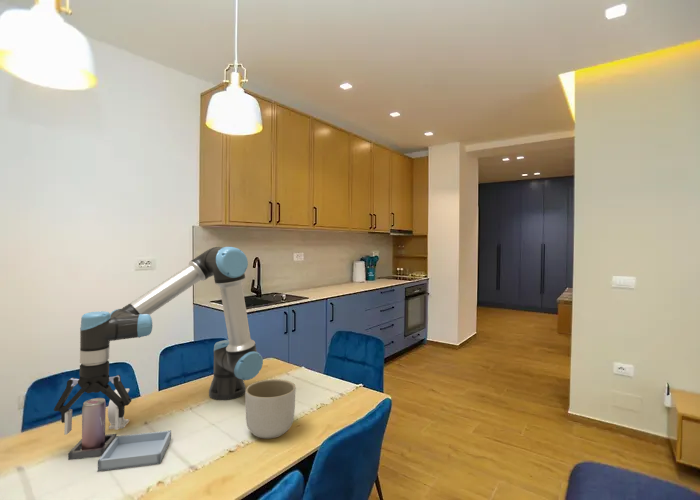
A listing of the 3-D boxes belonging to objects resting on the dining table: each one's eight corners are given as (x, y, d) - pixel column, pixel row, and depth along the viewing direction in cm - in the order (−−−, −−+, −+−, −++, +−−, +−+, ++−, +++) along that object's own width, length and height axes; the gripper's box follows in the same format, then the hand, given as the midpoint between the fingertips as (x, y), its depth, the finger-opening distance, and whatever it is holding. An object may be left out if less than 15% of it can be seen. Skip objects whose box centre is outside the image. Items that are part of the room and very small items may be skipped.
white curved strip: (129, 421, 131) (129, 388, 131) (122, 429, 125) (122, 395, 125) (115, 422, 130) (115, 389, 130) (107, 430, 124) (108, 395, 124)
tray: (171, 439, 119) (171, 430, 119) (160, 463, 105) (160, 453, 105) (116, 445, 115) (116, 435, 115) (97, 471, 101) (97, 461, 101)
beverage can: (89, 444, 115) (90, 397, 115) (109, 444, 116) (109, 397, 116) (77, 455, 109) (77, 405, 109) (97, 454, 110) (98, 405, 110)
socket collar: (116, 439, 118) (116, 433, 118) (104, 455, 109) (104, 449, 109) (83, 443, 116) (83, 437, 116) (68, 460, 107) (68, 453, 107)
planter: (250, 449, 113) (251, 401, 113) (240, 426, 129) (241, 383, 129) (301, 437, 121) (302, 392, 121) (286, 416, 136) (287, 376, 136)
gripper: (142, 356, 119) (141, 420, 119) (54, 360, 113) (53, 428, 113) (135, 363, 112) (134, 431, 112) (40, 368, 106) (39, 440, 106)
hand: (93, 430), depth 112 cm, fingers open, 13 cm apart
